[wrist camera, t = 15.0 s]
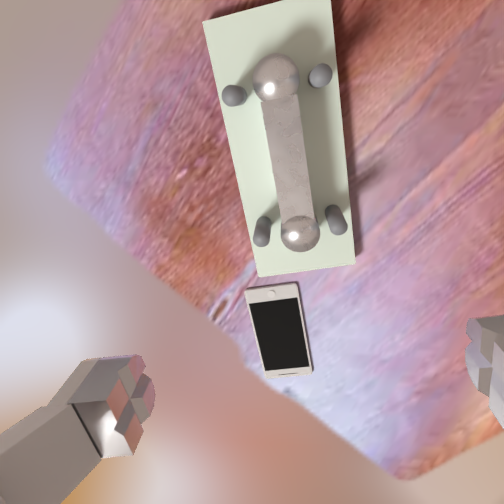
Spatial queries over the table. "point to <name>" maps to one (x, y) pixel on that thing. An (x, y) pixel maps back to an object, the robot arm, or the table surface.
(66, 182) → the table surface
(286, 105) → the grey dumbbell
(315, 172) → the board
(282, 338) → the smartphone
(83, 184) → the table surface
